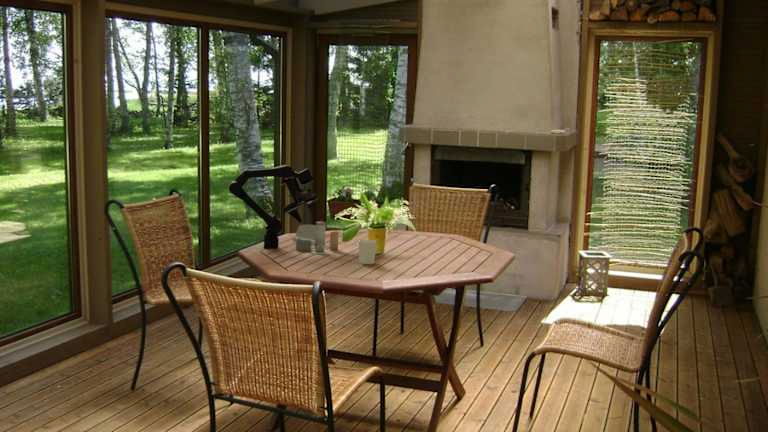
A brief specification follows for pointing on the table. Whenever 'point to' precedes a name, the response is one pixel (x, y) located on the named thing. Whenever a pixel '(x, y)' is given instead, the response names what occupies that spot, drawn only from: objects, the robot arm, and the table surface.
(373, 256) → the white cup
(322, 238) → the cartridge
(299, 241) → the unit
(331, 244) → the terracotta cylinder
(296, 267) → the table surface
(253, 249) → the table surface
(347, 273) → the table surface
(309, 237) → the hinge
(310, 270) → the table surface
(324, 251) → the pad
